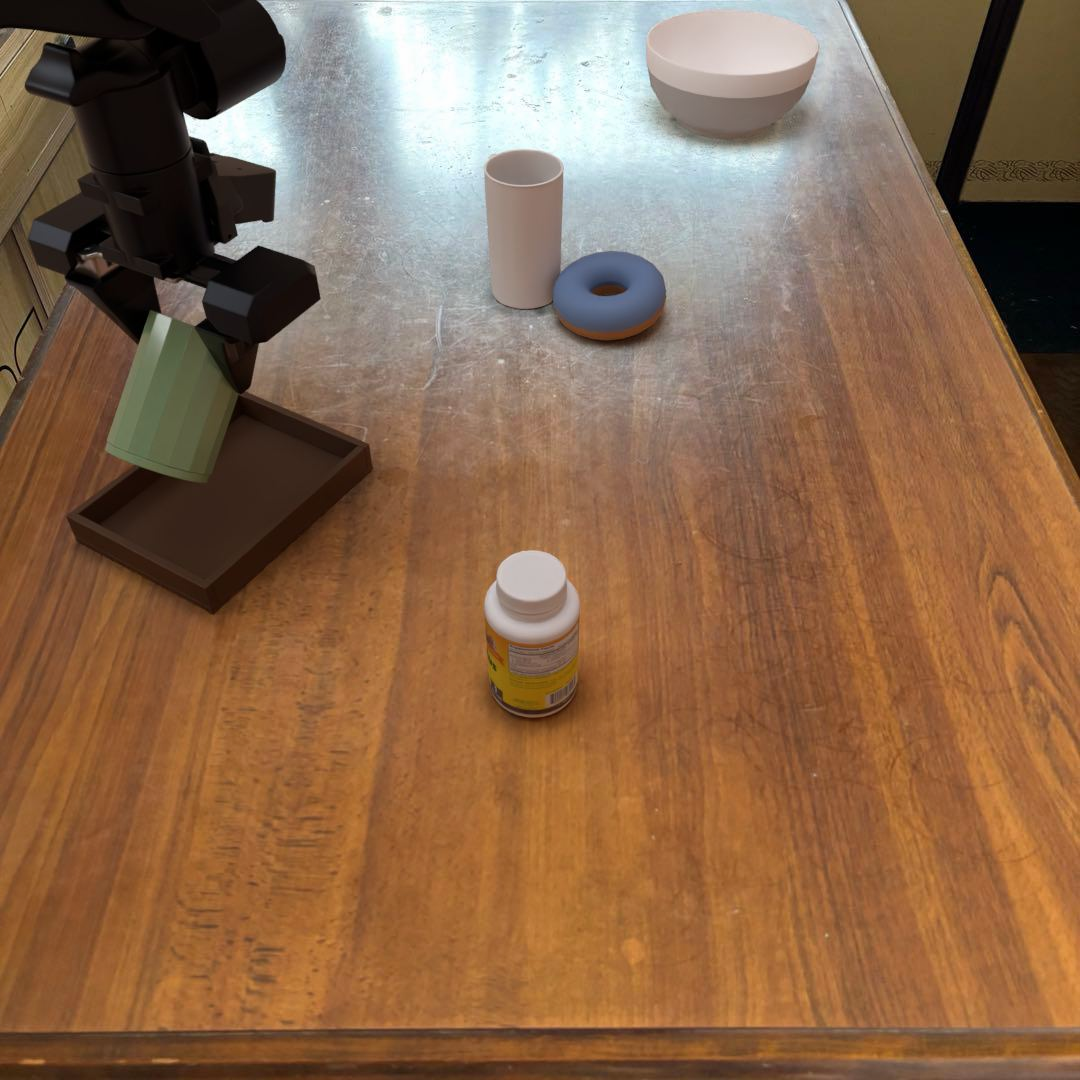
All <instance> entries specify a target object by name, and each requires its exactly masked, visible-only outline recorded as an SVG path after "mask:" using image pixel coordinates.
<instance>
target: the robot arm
mask: <svg viewBox="0 0 1080 1080" xmlns="http://www.w3.org/2000/svg"><path fill="white" fill-rule="evenodd" d="M2 29H3V30H4V29H17V30H30V31H39V32H46V33H51V34H52V33H54V34H58V35H66V36H74V37H80V38H92V39H91V40H89V41H87V42H84V43H82V44H80V45H78V46H76V47H68V46H65V45H62V44H59V43H54V42H51V41H46V42H44V43H43V46H42V49H41V54H40V57H39V58H38V61H37V62H36V63H35V64H34V65H33V67H31V69H30V71H29V73H28V75H27V77H26V79H25V81H24V89H25V91H26V93H28V94H29V95H33V96H36V97H39V98H42V99H46V100H49V101H52V102H56V103H59V104H62V105H67V106H70V109H71V111H72V116H73V118H74V121H75V124H76V128H77V131H78V134H79V137H80V141H81V144H82V146H83V149H84V153H85V156H86V159H87V162H88V166H89V170H90V172H88V173H86V174H85V175H83V176H81V177H79V178H77V179H76V180H77V184H78V187H79V189H80V192H79V193H77V194H75V195H73V196H72V197H70V198H68V199H67V200H65V201H63V202H61V203H59V204H58V205H56V206H55V207H53V208H51V209H49V210H48V211H45V212H44V213H42V214H40V215H38V216H37V217H35V218H33V220H32V223H31V227H30V229H29V233H28V236H27V239H26V240H27V242H28V245H29V247H30V251H31V253H32V255H33V258H34V260H35V263H36V265H37V266H39V267H41V268H43V269H47V270H50V271H52V272H55V273H58V274H60V275H62V276H64V280H65V282H66V284H67V285H69V286H71V287H73V288H75V289H76V290H77V291H78V292H80V293H81V294H82V295H83V296H84V297H85V298H87V300H89V301H90V302H91V303H92V304H93V305H94V306H95V307H97V308H98V309H99V310H100V311H101V312H102V313H103V314H105V316H107V317H108V319H110V320H111V321H112V322H113V324H115V325H116V326H117V327H119V329H120V330H122V331H123V333H124V334H126V335H127V336H128V337H129V338H130V339H131V341H133V343H135V344H136V345H137V346H138V345H139V342H140V339H141V336H142V333H143V330H144V327H145V324H146V321H147V318H148V315H149V312H150V310H152V311H155V312H158V313H161V314H163V313H162V309H161V305H160V300H159V295H158V292H157V286H156V283H155V279H158V280H161V281H163V282H164V281H165V282H167V283H170V284H174V285H175V284H178V283H180V282H182V281H183V282H186V283H189V284H191V285H194V286H197V287H200V288H202V289H203V288H204V289H205V291H204V294H203V297H202V299H201V304H202V308H203V311H204V315H205V318H204V319H203V320H201V321H200V322H199V323H197V324H196V325H194V326H195V330H196V331H197V333H198V335H199V336H200V338H201V339H202V341H203V343H204V344H205V346H206V347H207V349H208V351H209V352H210V354H211V356H212V357H213V359H214V360H215V362H216V364H217V365H218V367H219V369H220V370H221V372H222V373H223V375H224V377H225V378H226V380H227V381H228V383H229V384H230V385H231V387H232V388H233V389H234V391H235V392H236V393H238V394H243V393H244V392H245V391H246V392H247V391H248V390H249V389H250V388H251V387H252V382H253V378H254V372H255V367H256V361H257V356H258V352H259V345H260V344H265V343H268V342H269V341H271V339H273V338H274V337H275V336H277V335H278V334H279V333H280V332H282V331H283V330H284V329H286V328H287V327H288V326H289V325H290V324H292V323H293V322H294V321H296V320H297V319H298V318H299V317H300V316H301V315H303V314H304V313H306V312H307V311H308V310H309V309H311V308H312V307H313V306H314V305H316V304H317V303H319V301H320V300H322V298H321V297H322V296H321V292H320V287H319V281H318V275H317V271H316V267H315V265H314V264H313V263H312V264H311V263H310V262H308V261H306V260H304V259H302V258H298V257H297V256H296V257H295V256H293V255H291V254H290V255H289V254H286V253H284V252H282V251H277V250H274V249H272V248H268V247H265V246H262V245H256V246H255V247H254V248H252V249H251V250H249V251H248V252H246V253H245V254H244V255H242V256H240V258H238V259H235V258H231V257H228V256H225V255H222V254H219V253H216V249H215V246H217V245H218V244H219V243H220V244H222V245H227V244H228V243H229V242H231V241H232V240H234V239H235V238H236V237H238V236H239V234H238V229H237V225H241V224H242V225H243V224H248V223H254V222H260V221H262V222H263V223H266V224H267V223H272V222H273V221H274V220H275V208H276V207H275V203H276V188H277V187H276V185H277V170H276V169H274V168H271V167H269V166H265V165H262V164H259V163H255V162H251V161H248V160H245V159H242V158H237V157H235V156H229V155H221V154H218V153H216V152H210V150H209V147H208V144H207V142H206V141H205V140H204V139H201V138H198V137H194V136H191V135H189V131H188V125H187V122H186V119H185V115H186V116H189V117H190V118H192V119H196V120H200V121H208V120H211V119H214V118H216V117H217V116H219V115H221V114H223V113H225V112H226V111H228V110H229V109H231V108H233V107H235V106H237V105H238V104H240V103H242V102H243V101H246V100H247V99H249V98H250V97H252V96H254V95H256V94H258V93H259V92H261V91H263V90H265V89H266V88H268V87H270V86H272V85H273V84H276V83H277V82H278V81H279V79H281V77H282V76H283V73H284V72H285V69H286V63H287V48H286V43H285V39H284V35H282V33H280V32H279V30H278V27H277V25H276V23H275V21H274V20H273V18H272V16H271V14H270V13H269V11H267V9H266V8H265V7H264V6H263V4H262V3H261V2H260V1H259V0H0V30H2Z"/></svg>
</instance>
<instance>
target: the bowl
mask: <svg viewBox="0 0 1080 1080" xmlns="http://www.w3.org/2000/svg"><path fill="white" fill-rule="evenodd" d="M819 52H820V43H819V40H818V39H817V36H815V35H814V34H813V33H812V31H811V30H809V29H807V28H806V27H805V26H803V25H802V24H799V23H797V22H795V21H792V20H790V19H787V18H784V17H780V16H778V15H774V14H769V13H764V12H759V11H751V10H744V9H743V10H742V9H705V10H704V9H703V10H695V11H690V12H685V13H680V14H677V15H673V16H670V17H667V18H665V19H662V20H661V21H659V22H657V23H655V24H654V25H653V26H652V27H651V28H650V29H649V31H648V32H647V35H646V36H645V62H646V68H647V73H648V79H649V84H650V87H651V90H652V92H653V93H654V94H655V96H656V97H657V99H658V102H659V103H660V104H661V106H662V107H663V109H664V111H666V112H667V113H668V114H669V115H671V116H672V117H674V118H675V119H676V121H677V123H678V124H679V125H680V126H681V127H682V128H683V129H686V130H687V131H689V132H691V133H694V134H696V135H699V136H703V137H707V138H713V139H724V140H725V139H726V140H728V139H729V140H733V139H743V138H748V137H752V136H756V135H758V134H760V133H763V132H765V130H767V129H768V128H769V126H770V125H772V124H774V123H775V122H777V121H780V120H781V119H783V118H784V117H786V116H787V115H788V114H789V113H790V111H791V110H792V109H793V108H794V107H795V106H796V105H797V104H798V102H799V101H800V100H801V99H803V96H804V94H805V93H806V90H807V88H808V85H809V83H810V82H811V79H812V76H813V75H814V73H815V68H816V64H817V61H818V55H819Z"/></svg>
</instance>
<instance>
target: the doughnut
mask: <svg viewBox="0 0 1080 1080" xmlns="http://www.w3.org/2000/svg"><path fill="white" fill-rule="evenodd" d="M552 302H553V307H554V312H555V314H556V316H557V318H558V319H559V320H560V321H561V323H562V325H563V326H564V328H565V327H566V328H567V329H568V330H570V331H571V332H573V333H574V334H576V335H578V336H582V337H584V338H588V339H591V340H597V341H616V340H624V339H627V338H630V337H633V336H635V335H639V334H640V333H641V332H643V331H644V330H647V329H648V328H650V327H652V326H653V325H654V324H655V322H656V321H657V320H658V319H659V318H660V316H661V315H662V313H663V311H664V309H665V306H666V302H667V289H666V284H665V280H664V276H663V274H662V272H661V271H660V270H659V269H658V267H656V264H654V263H653V262H651V261H649V260H648V259H646V258H644V257H643V256H641V255H638V254H635V253H631V252H628V251H617V250H608V251H607V250H605V251H600V252H599V251H598V252H593V253H591V254H587V255H584V256H581V257H580V258H578V259H575V260H574V261H573V262H571V263H569V264H568V265H566V267H565V268H564V269H563V270H562V271H560V274H559V276H558V278H557V280H556V283H555V285H554V288H553V301H552Z"/></svg>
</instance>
